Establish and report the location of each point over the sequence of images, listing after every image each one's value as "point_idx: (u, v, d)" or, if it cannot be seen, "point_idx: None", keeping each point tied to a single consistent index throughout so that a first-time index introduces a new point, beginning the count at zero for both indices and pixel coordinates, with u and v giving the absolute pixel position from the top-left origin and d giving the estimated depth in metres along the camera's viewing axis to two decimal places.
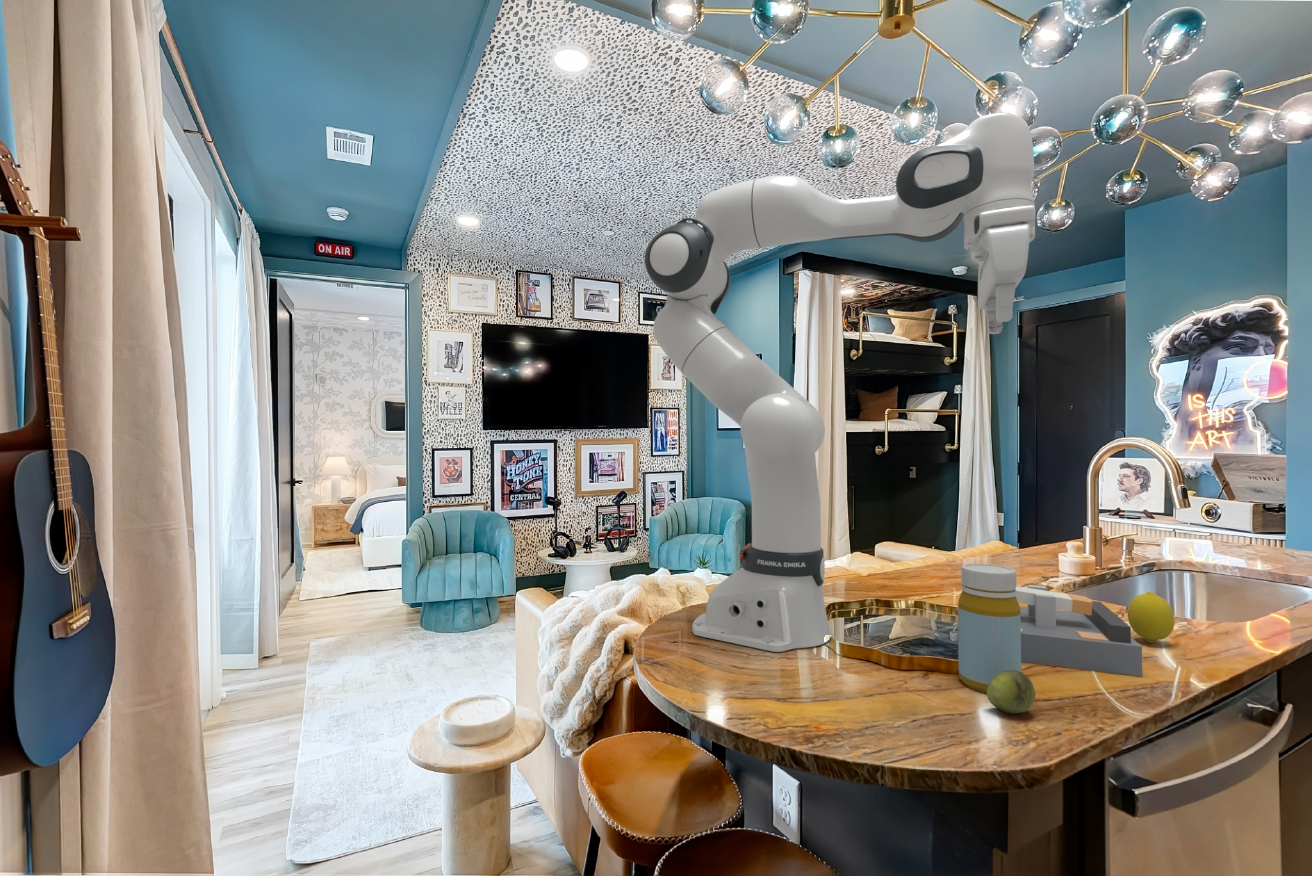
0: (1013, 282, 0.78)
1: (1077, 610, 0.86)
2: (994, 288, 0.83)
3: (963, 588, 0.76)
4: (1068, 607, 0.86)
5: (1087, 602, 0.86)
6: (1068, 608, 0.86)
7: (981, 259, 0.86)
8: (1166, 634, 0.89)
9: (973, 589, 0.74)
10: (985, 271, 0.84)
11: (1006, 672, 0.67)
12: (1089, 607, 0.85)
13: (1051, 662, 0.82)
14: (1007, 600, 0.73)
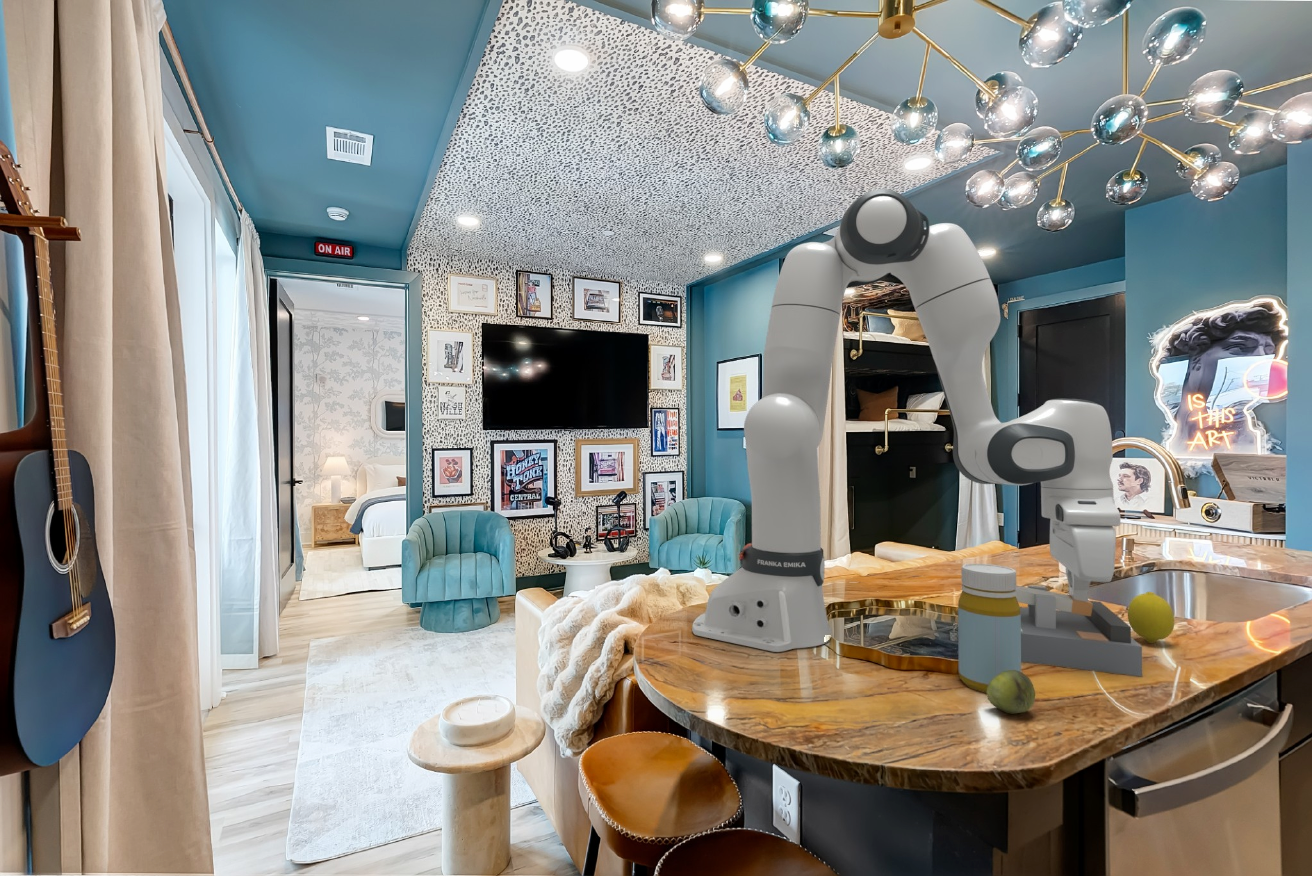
0: None
1: (1077, 611, 0.86)
2: None
3: (963, 588, 0.76)
4: (1068, 607, 0.86)
5: (1087, 603, 0.86)
6: (1068, 609, 0.87)
7: None
8: (1166, 634, 0.89)
9: (973, 589, 0.74)
10: (1064, 545, 0.88)
11: (1006, 672, 0.67)
12: (1089, 608, 0.85)
13: (1051, 662, 0.82)
14: (1007, 600, 0.73)
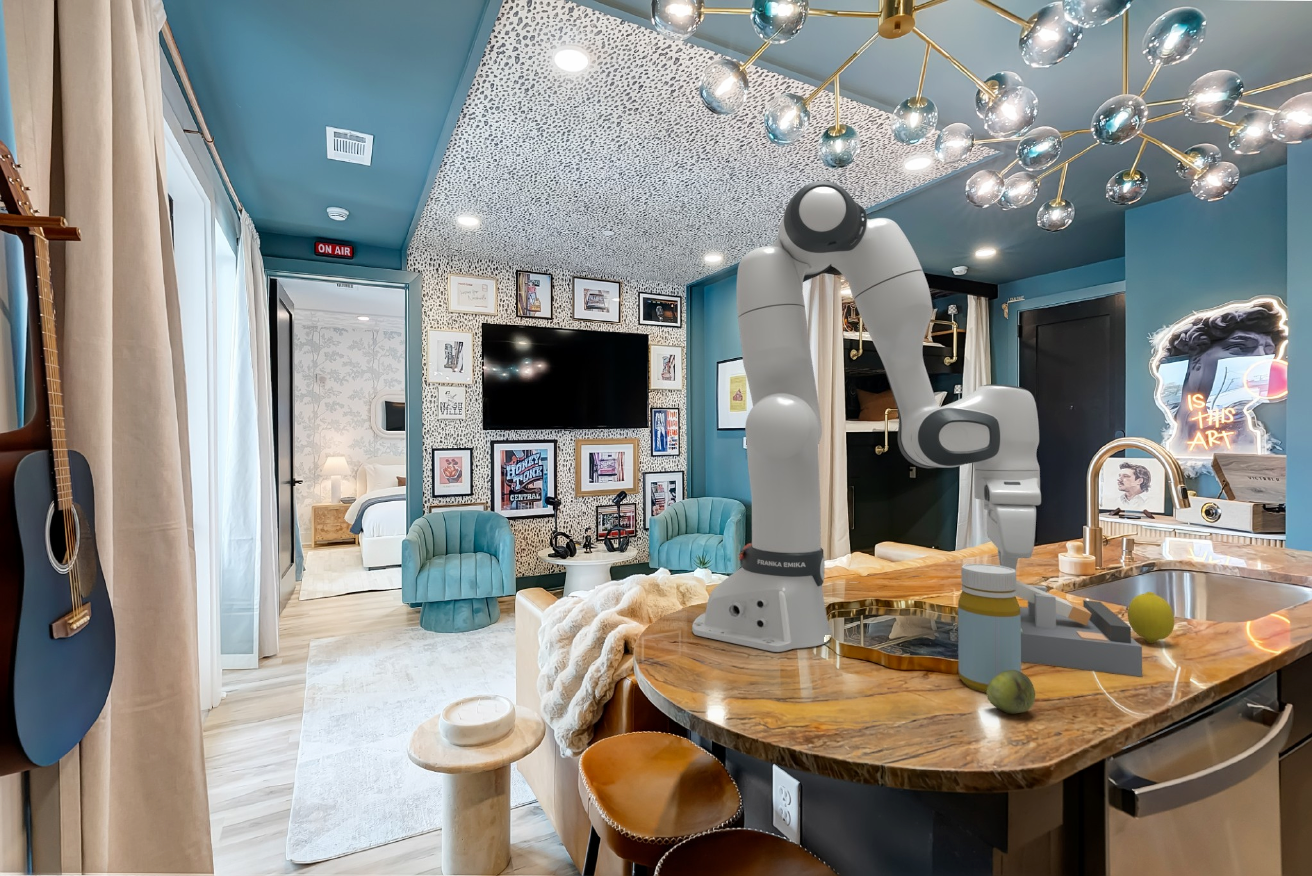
0: None
1: (1074, 617, 0.86)
2: None
3: (963, 588, 0.76)
4: (1065, 612, 0.87)
5: (1086, 612, 0.86)
6: (1065, 613, 0.87)
7: None
8: (1166, 634, 0.89)
9: (973, 589, 0.74)
10: (994, 525, 0.91)
11: (1006, 672, 0.67)
12: (1087, 618, 0.85)
13: (1051, 662, 0.82)
14: (1007, 600, 0.73)
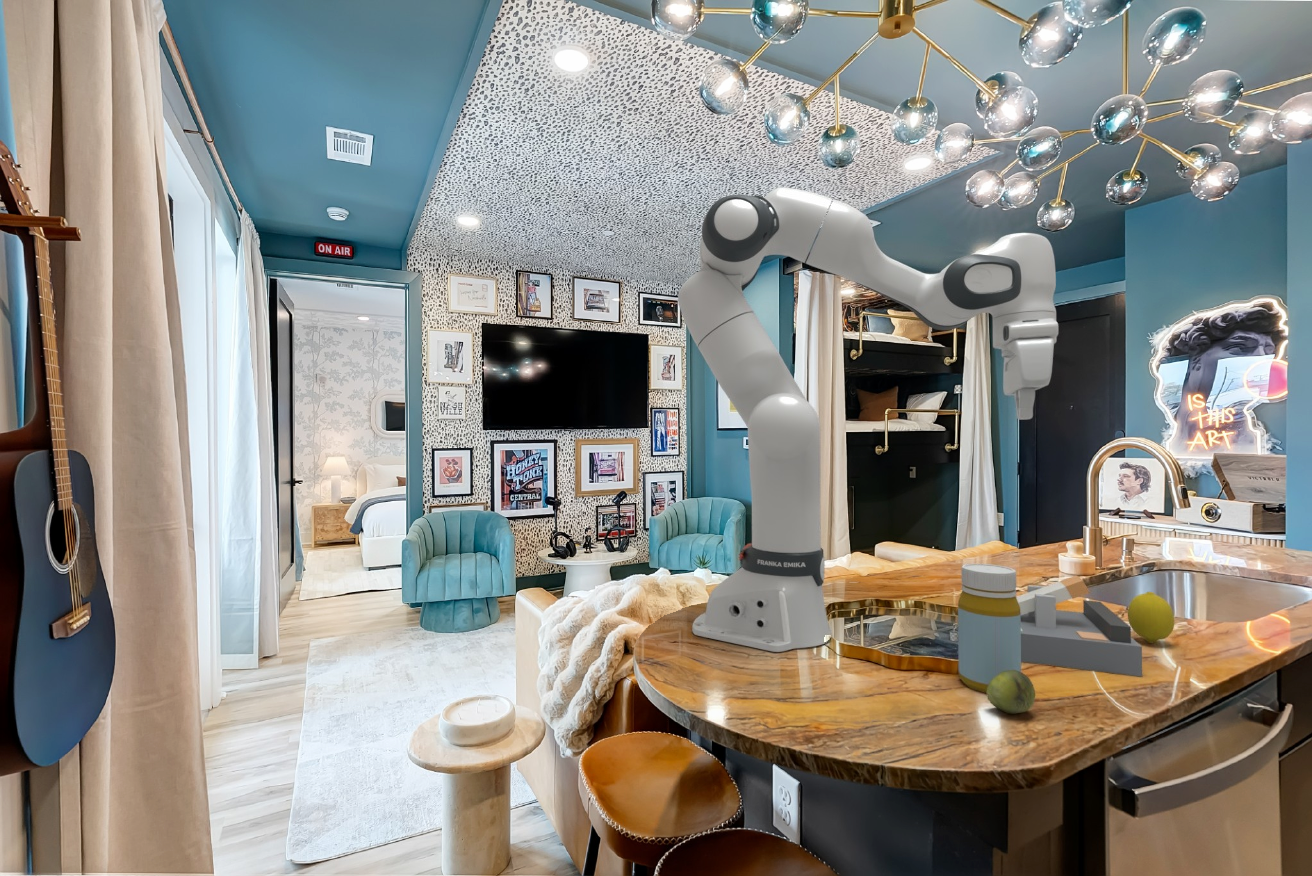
0: None
1: (1076, 594, 0.86)
2: None
3: (963, 588, 0.76)
4: (1067, 595, 0.87)
5: (1079, 582, 0.86)
6: (1067, 596, 0.87)
7: (1008, 357, 0.98)
8: (1166, 634, 0.89)
9: (973, 589, 0.74)
10: (1012, 370, 0.96)
11: (1006, 672, 0.67)
12: (1084, 586, 0.86)
13: (1051, 662, 0.82)
14: (1007, 600, 0.73)
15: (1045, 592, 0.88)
